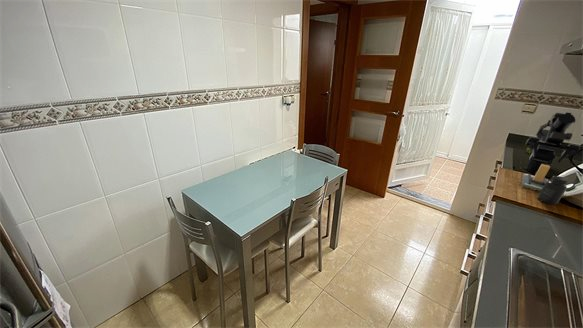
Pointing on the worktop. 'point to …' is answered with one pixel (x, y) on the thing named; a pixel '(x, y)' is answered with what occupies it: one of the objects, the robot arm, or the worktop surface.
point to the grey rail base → (527, 182)
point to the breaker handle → (540, 174)
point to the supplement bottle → (553, 190)
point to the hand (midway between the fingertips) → (546, 159)
